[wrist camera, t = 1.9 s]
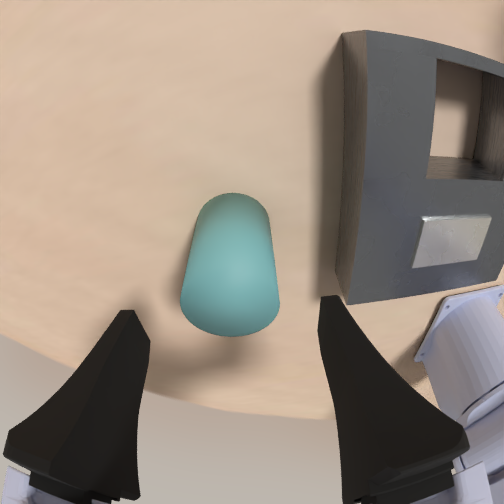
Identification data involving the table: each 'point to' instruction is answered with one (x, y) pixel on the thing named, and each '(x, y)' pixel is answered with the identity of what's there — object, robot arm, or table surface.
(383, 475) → the robot arm
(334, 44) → the table surface
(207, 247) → the barrel peg
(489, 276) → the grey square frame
